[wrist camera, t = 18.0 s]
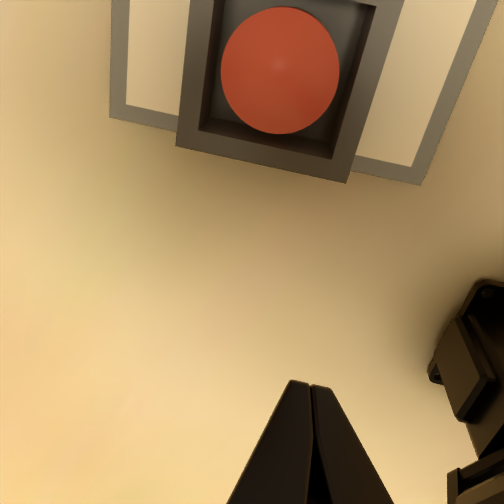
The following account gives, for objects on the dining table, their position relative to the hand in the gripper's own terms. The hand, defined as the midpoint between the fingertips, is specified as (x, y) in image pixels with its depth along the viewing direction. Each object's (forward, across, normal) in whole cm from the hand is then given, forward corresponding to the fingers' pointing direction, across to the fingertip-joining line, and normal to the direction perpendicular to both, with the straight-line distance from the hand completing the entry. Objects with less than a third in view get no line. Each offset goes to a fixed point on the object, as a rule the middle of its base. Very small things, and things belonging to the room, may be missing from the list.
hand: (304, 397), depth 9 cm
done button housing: (+11, +2, -4) cm, 12 cm away
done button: (+10, +2, -5) cm, 11 cm away
